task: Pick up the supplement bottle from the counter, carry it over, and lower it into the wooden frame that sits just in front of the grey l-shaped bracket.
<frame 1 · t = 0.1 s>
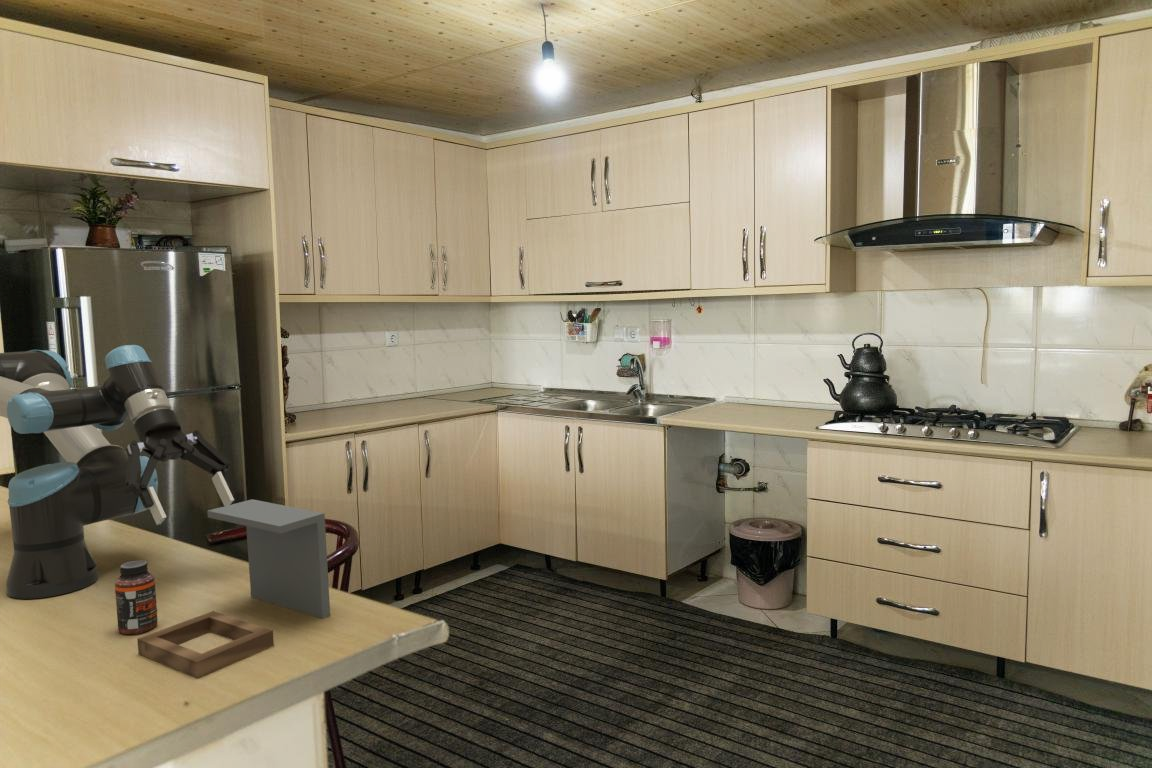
hand: (196, 512, 154), 15 cm above the counter, tool tilted 35°, fingers open, 13 cm apart
wooden frame: (206, 649, 130), on the counter
supplement bottle: (138, 629, 139), on the counter
grey l-shaped bracket: (271, 612, 144), on the counter
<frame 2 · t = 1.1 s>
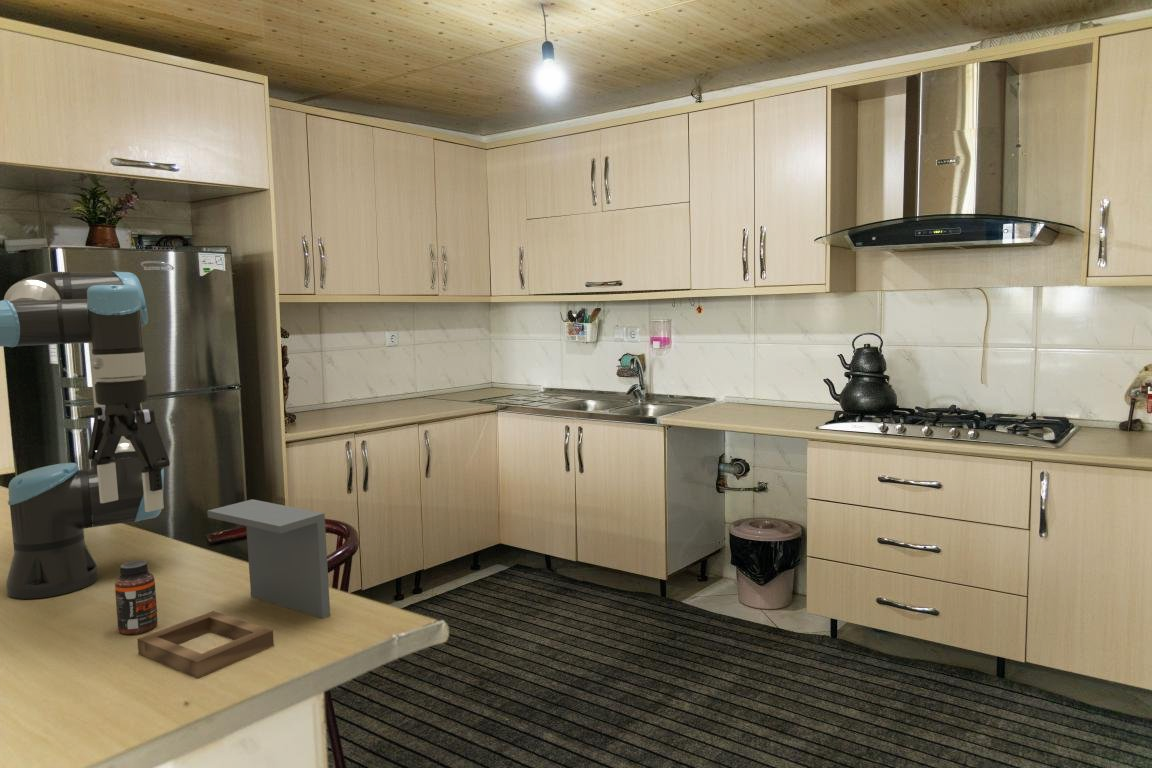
hand: (131, 505, 137), 21 cm above the counter, tool pointing down, fingers open, 13 cm apart
nothing on the counter moved.
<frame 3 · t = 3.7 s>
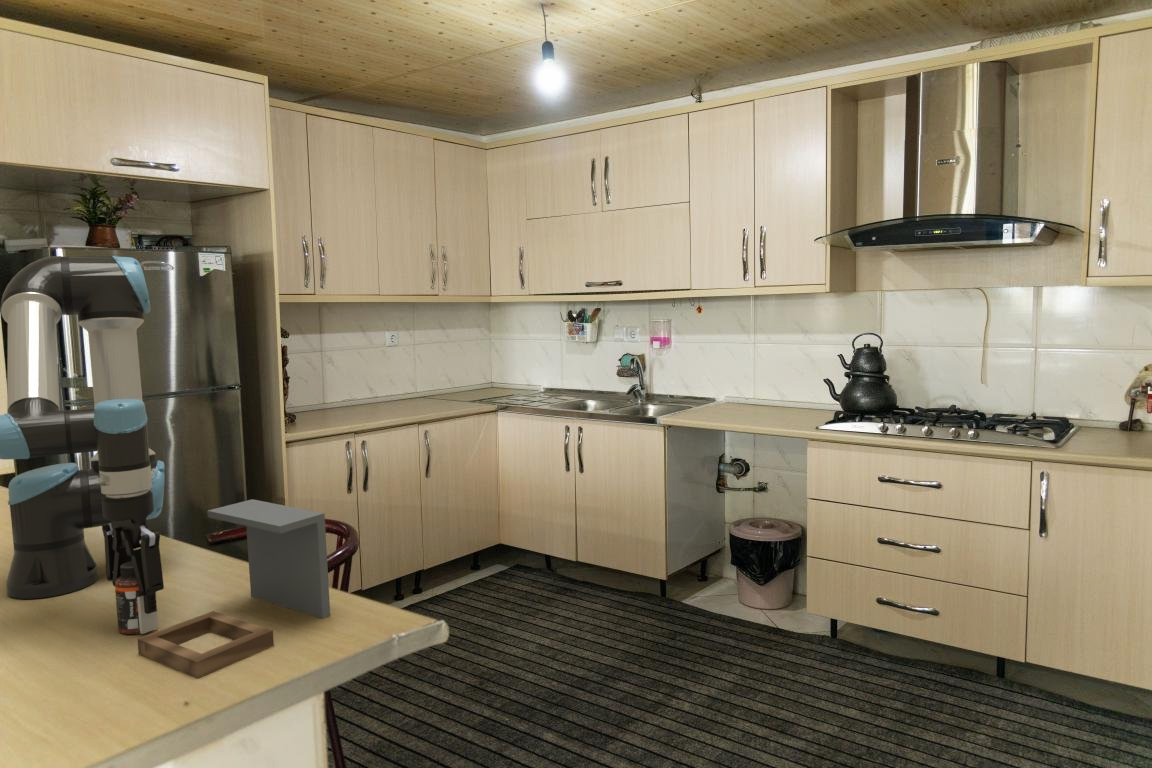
hand: (138, 626, 139), 0 cm above the counter, tool pointing down, fingers closed on supplement bottle, 6 cm apart
supplement bottle: (138, 629, 139), on the counter, touching gripper
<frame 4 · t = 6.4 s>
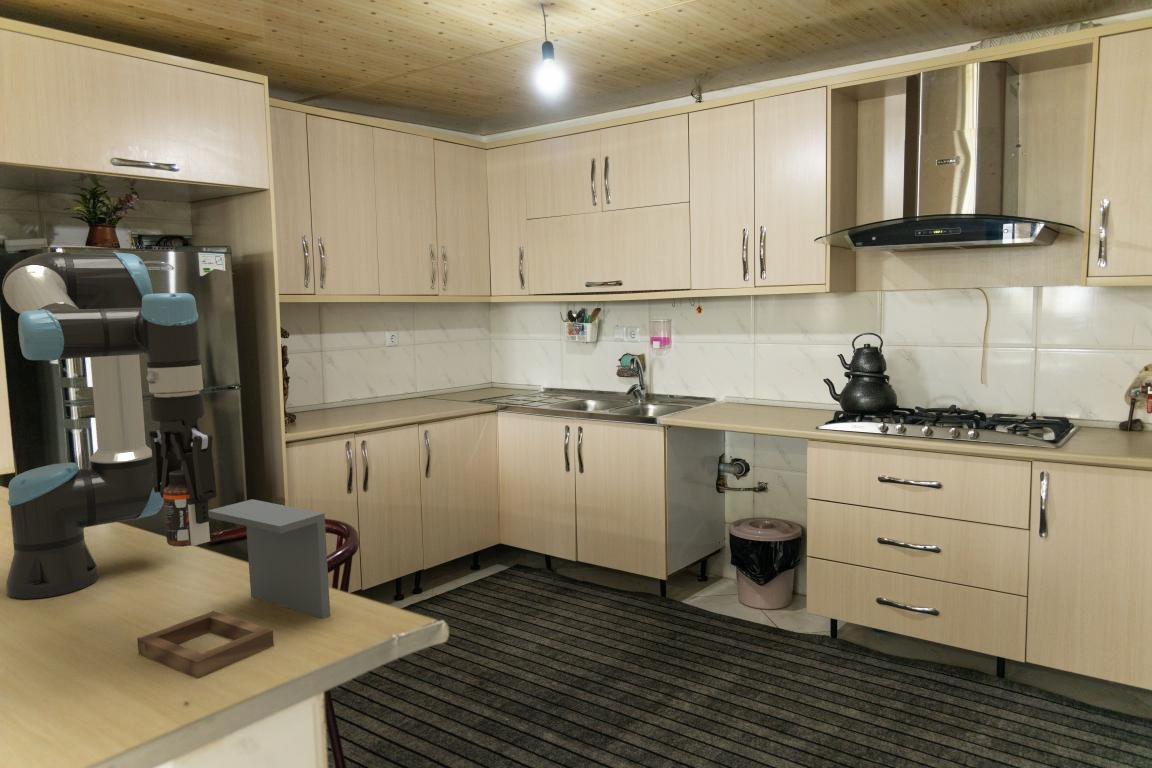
hand: (188, 539, 128), 18 cm above the counter, tool pointing down, fingers closed on supplement bottle, 6 cm apart
supplement bottle: (188, 543, 129), point 17 cm above the counter, touching gripper
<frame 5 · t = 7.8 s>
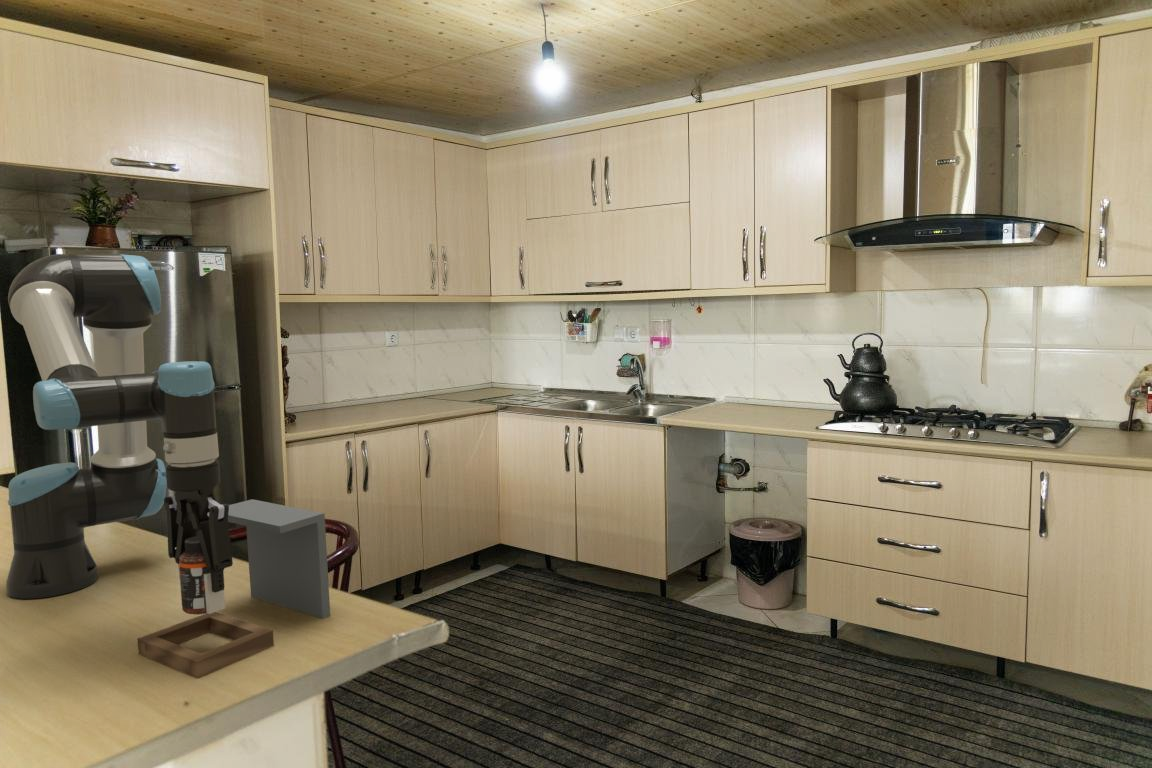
hand: (203, 606, 129), 7 cm above the counter, tool pointing down, fingers closed on supplement bottle, 6 cm apart
supplement bottle: (203, 610, 129), point 7 cm above the counter, touching gripper
when the fingers open (3 cm above the counter, at t = 9.1 s): supplement bottle drops 2 cm, resting in wooden frame.
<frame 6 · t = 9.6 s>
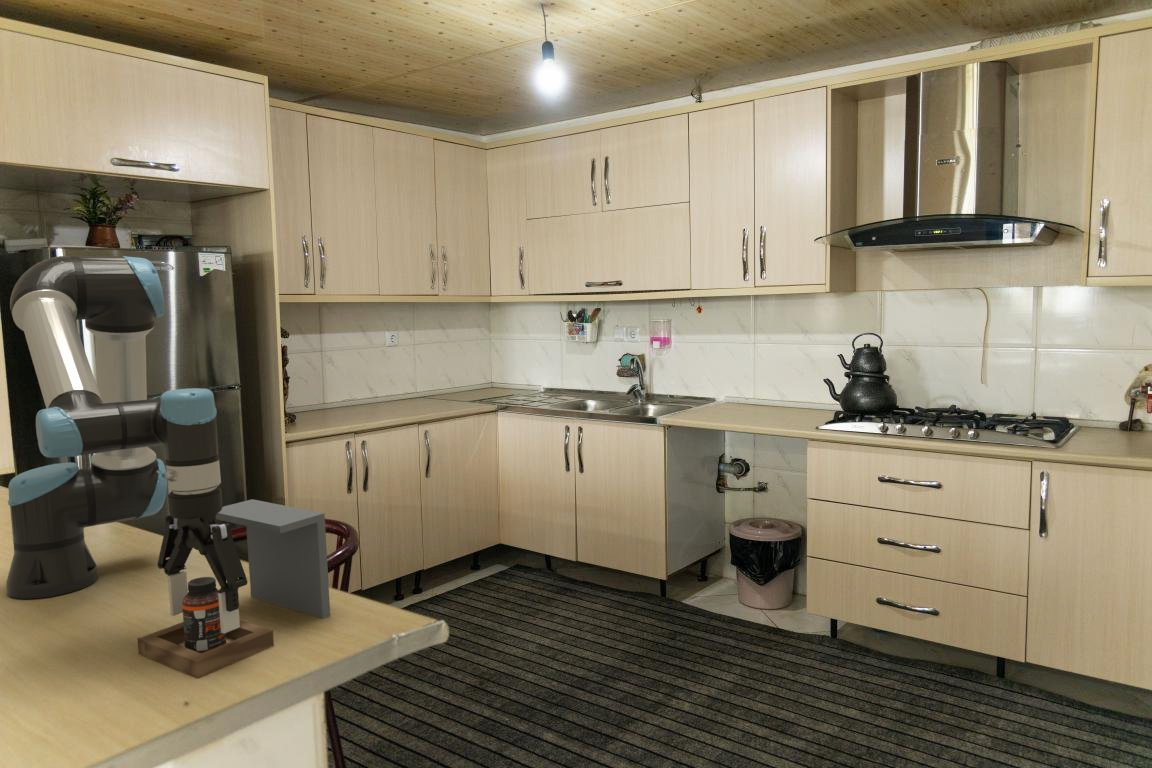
hand: (204, 621, 129), 5 cm above the counter, tool pointing down, fingers open, 13 cm apart
supplement bottle: (206, 651, 130), resting in wooden frame
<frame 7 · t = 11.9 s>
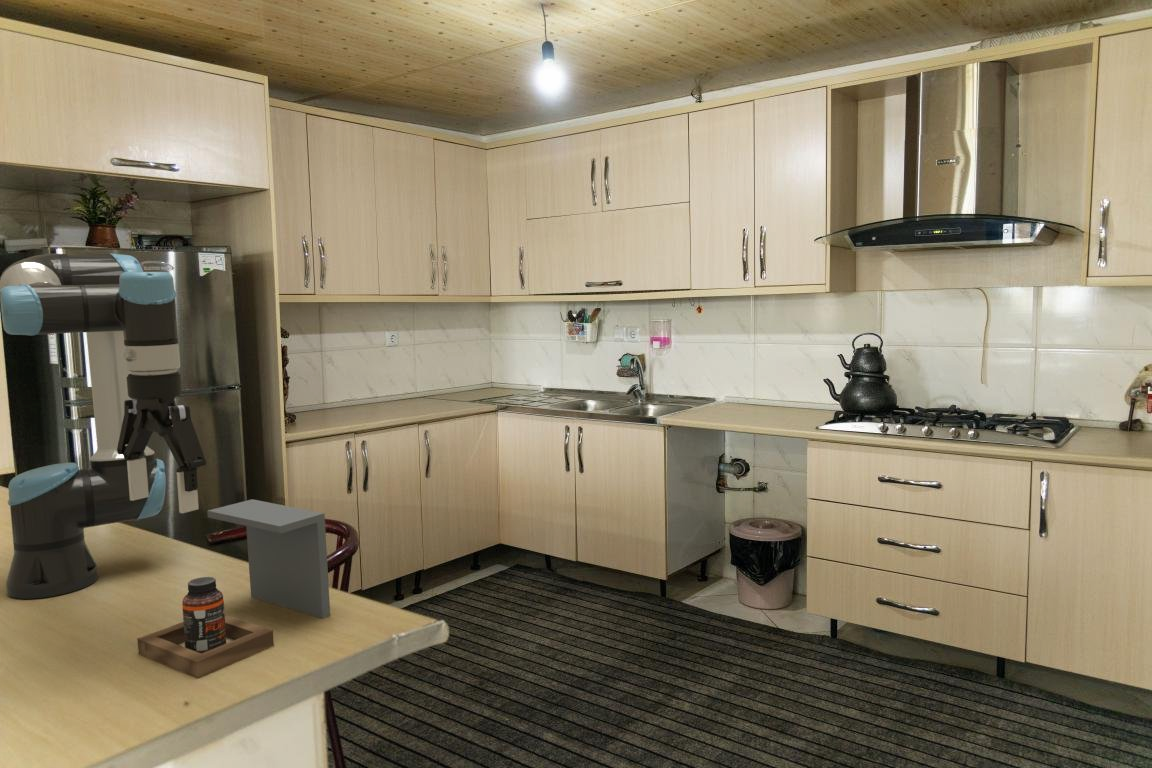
hand: (163, 504, 130), 23 cm above the counter, tool pointing down, fingers open, 13 cm apart
nothing on the counter moved.
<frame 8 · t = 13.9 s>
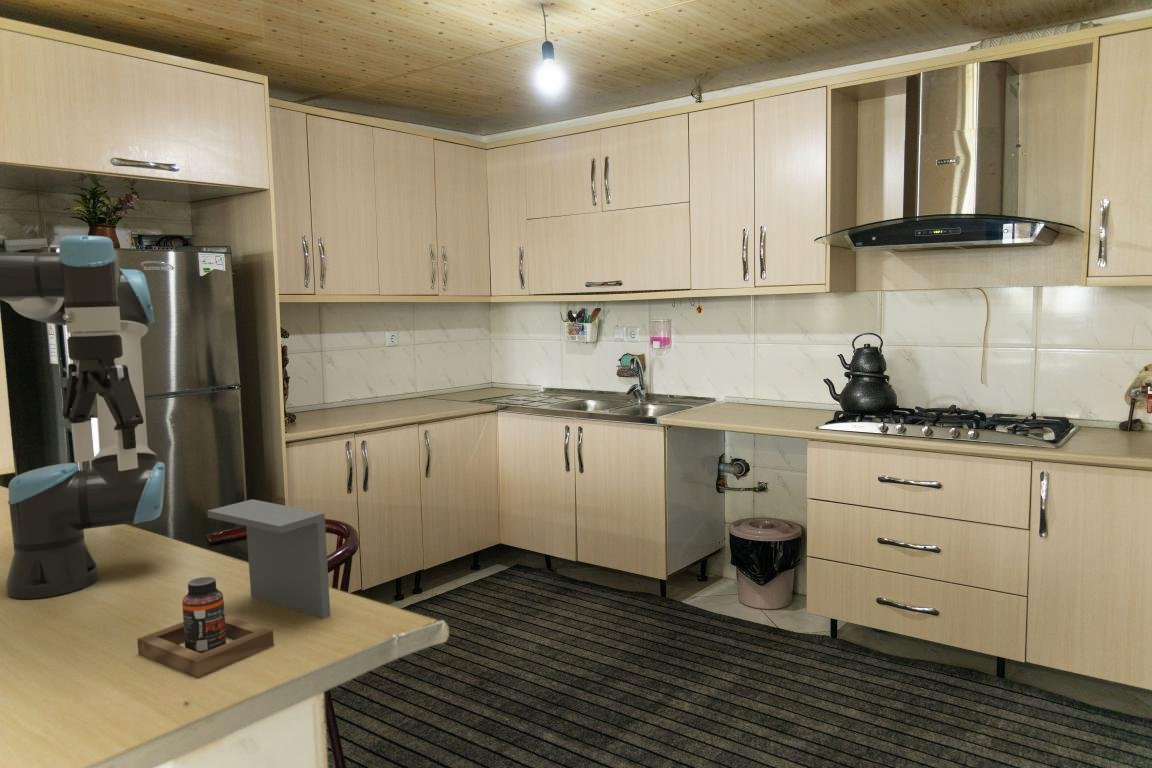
hand: (105, 465, 133), 29 cm above the counter, tool pointing down, fingers open, 13 cm apart
nothing on the counter moved.
at the end: supplement bottle 0.0 cm off-centre on the wooden frame, point 0.0 cm above the wooden frame's base; supplement bottle tilted 0°; the gripper is holding nothing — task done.
